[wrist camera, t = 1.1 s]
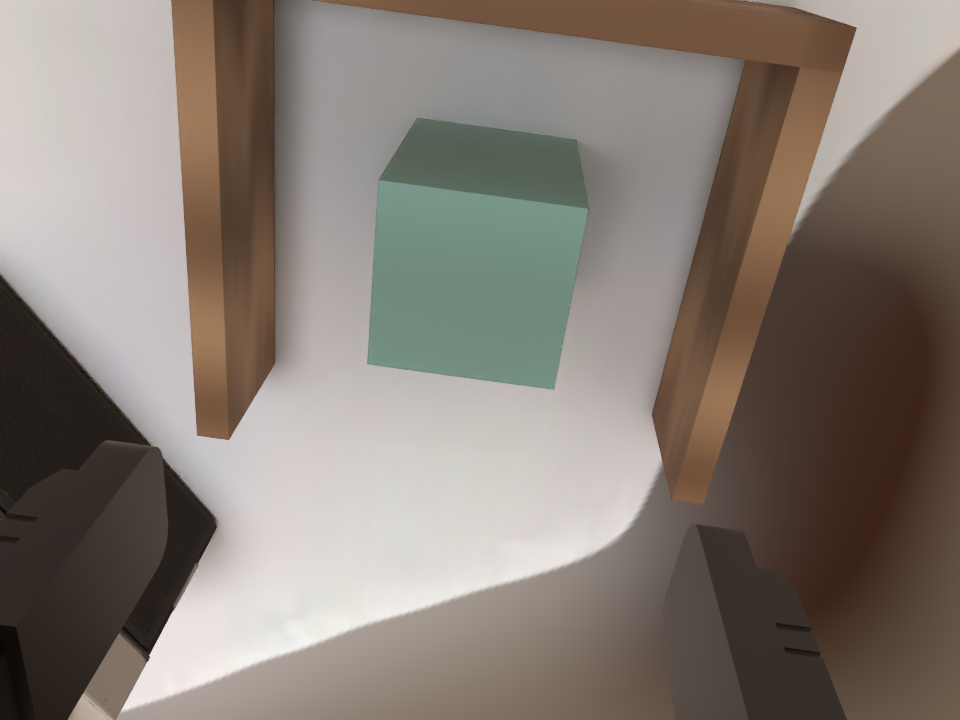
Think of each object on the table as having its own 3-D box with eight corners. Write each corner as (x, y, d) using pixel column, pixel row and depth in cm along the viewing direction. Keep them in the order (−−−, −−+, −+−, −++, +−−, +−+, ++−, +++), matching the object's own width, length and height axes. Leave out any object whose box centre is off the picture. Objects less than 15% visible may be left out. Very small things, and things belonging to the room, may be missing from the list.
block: (417, 117, 25) (378, 180, 19) (576, 139, 25) (588, 209, 19) (405, 266, 27) (367, 364, 21) (550, 286, 28) (553, 389, 21)
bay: (238, -69, 23) (167, -67, 18) (795, 8, 23) (856, 27, 19) (247, 359, 30) (197, 435, 25) (678, 418, 30) (703, 504, 25)
